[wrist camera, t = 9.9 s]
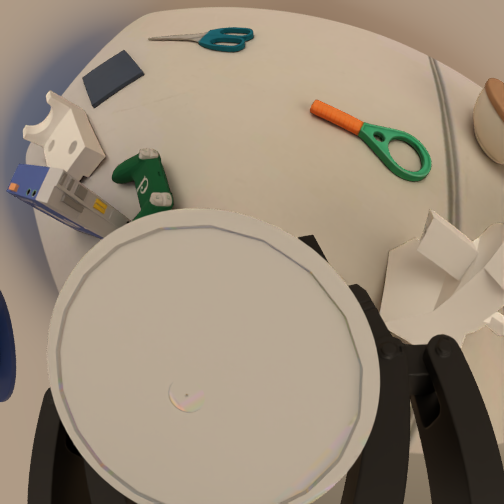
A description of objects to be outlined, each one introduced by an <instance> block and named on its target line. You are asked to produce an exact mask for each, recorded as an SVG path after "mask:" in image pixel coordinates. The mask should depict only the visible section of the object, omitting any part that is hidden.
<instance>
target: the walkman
mask: <svg viewBox="0 0 504 504" xmlns="http://www.w3.org/2000/svg"><path fill="white" fill-rule="evenodd" d="M7 192H8V193H10V194H12V195H14V196H15V197H17V198H19V199H20V200H22V201H24V202H25V203H27V204H29V205H31V206H32V207H34V208H36V209H38V210H40V211H41V212H43V213H45V214H47V215H49V216H51V217H52V218H54V219H56V220H58V221H60V222H62V223H64V224H66V225H68V226H69V227H71V228H73V229H75V230H78V231H81V232H84V233H86V234H89V235H92V236H95V237H98V238H101V239H103V238H105V237H106V236H107V235H109V234H110V233H112V232H113V231H115V230H117V229H118V228H120V227H122V226H124V225H126V224H128V223H130V222H132V221H131V220H130V219H128V218H127V217H126V216H124V215H123V214H121V213H120V212H119V211H117V210H116V209H115V208H113V207H112V206H111V205H109V204H108V203H107V202H106V201H104V200H103V199H102V198H100V197H99V196H98V195H96V194H95V193H94V192H93V191H91V190H89V189H88V188H86V187H85V186H84V185H83V184H81V183H80V182H79V181H78V180H76V179H75V178H74V177H72V176H71V175H70V174H69V173H67V172H66V171H65V170H64V169H60V168H52V167H43V166H35V165H27V164H19V165H18V167H17V169H16V171H15V173H14V175H13V177H12V180H11V182H10V184H9V186H8V189H7Z"/></svg>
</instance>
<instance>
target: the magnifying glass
mask: <svg viewBox="0 0 504 504" xmlns="http://www.w3.org/2000/svg"><path fill="white" fill-rule="evenodd" d="M310 112H311V113H313V114H315V115H317V116H319V117H322V118H324V119H326V120H328V121H330V122H332V123H334V124H336V125H338V126H340V127H342V128H344V129H346V130H348V131H350V132H352V133H354V134H355V135H358V136H359V137H360V138H361V139H363V140H364V142H365V143H366V144H367V145H368V146H369V147H370V148H371V149H372V150H373V151H374V152H375V154H376V155H377V156H378V157H379V158H380V159H381V160H382V161H383V163H384V164H385V165H386V166H387V167H388V168H389V169H390V170H391V171H392V172H393V173H394V174H396V175H397V176H399V177H401V178H403V179H405V180H408V181H420V180H422V179H423V178H425V177H426V176H427V175H428V173H429V172H430V170H431V165H432V164H431V158H430V155H429V153H428V151H427V150H426V148H425V147H424V146H423V144H422V143H421V142H420V141H419V140H417V139H416V138H415V137H414V136H412V135H410V134H408V133H406V132H404V131H400V130H396V129H391V128H387V127H382V126H377V125H372V124H368V123H366V122H362V121H360V120H358V119H356V118H355V117H353V116H351V115H349V114H347V113H345V112H343V111H341V110H338V109H336V108H334V107H332V106H330V105H328V104H325V103H323V102H321V101H319V100H315V101H314V103H313V104H312V106H311V108H310ZM373 135H377V136H379V137H380V138H381V139H382V140H383V142H379V141H377V140H376V139H375V138H374V136H373ZM395 139H398V140H403V141H405V142H407V143H409V144H410V145H411V146H413V147H414V148H415V150H416V151H417V152H418V154H419V156H420V158H421V163H422V165H421V169H420V170H419V171H417V172H411V171H407V170H405V169H403V168H402V167H400V166H399V165H398V164H397V163H396V162H395V161H394V160H393V158H392V157H391V155H390V153H389V149H388V144H389V142H390V141H391V140H395Z"/></svg>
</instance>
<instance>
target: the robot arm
mask: <svg viewBox="0 0 504 504" xmlns="http://www.w3.org/2000/svg"><path fill="white" fill-rule="evenodd" d="M298 239H299V240H301V241H302V242H304V243H305V244H306V245H308V246H309V247H311V248H312V249H313V250H315V252H317V253H318V254H319V255H320V256H321V257H322V258H323V259H325V260H326V261H327V259H326V257H325V256H324V254H323V252H322V250H321V248H320V246H319V245H318V243H317V241H316V239H315V237H314V236H313V235H309V236H303V237H298ZM327 262H328V261H327ZM348 287H349V288H350V290H351V291H352V293H353V294H354V296H355V297H356V299H357V301H358V302H359V304H360V306H361V308H362V310H363V312H364V314H365V316H366V319H367V321H368V323H369V326H370V329H371V331H372V334H373V338H374V341H375V345H376V349H377V354H378V361H379V370H380V393H379V402H378V408H377V413H376V417H375V421H374V424H373V427H372V430H371V432H370V435H369V437H368V440H367V442H366V444H365V446H364V448H363V450H362V451H361V453H360V455H359V456H358V458H357V460H356V461H355V463H354V464H353V465H352V467H351V468H350V469H349V470H348V472H347V477H346V482H345V486H344V491H343V496H342V500H341V504H403V502H404V495H405V488H406V481H407V472H408V461H409V445H410V401H411V404H412V408H413V411H414V415H415V419H416V423H417V427H418V431H419V435H420V439H421V443H422V448H423V453H424V458H425V462H426V468H427V473H428V479H429V486H430V492H431V500H432V504H504V470H503V465H502V461H501V456H500V453H499V449H498V445H497V441H496V437H495V434H494V431H493V427H492V424H491V421H490V418H489V415H488V412H487V410H486V407H485V404H484V401H483V399H482V396H481V394H480V391H479V389H478V386H477V384H476V381H475V379H474V377H473V374H472V372H471V370H470V368H469V365H468V363H467V361H466V359H465V357H464V355H463V353H462V351H461V349H460V347H459V345H458V343H457V342H456V340H455V339H454V338H452V337H451V336H449V335H445V334H439V335H436V336H434V337H432V338H431V339H430V341H429V342H428V344H421V345H408V344H404V343H403V342H402V341H401V340H399V339H397V338H395V337H393V336H392V335H391V334H390V332H389V330H388V328H387V326H386V325H385V323H384V321H383V319H382V317H381V316H380V314H379V312H378V310H377V309H376V308H375V305H374V303H373V302H372V301H371V298H370V297H369V295H368V293H367V292H366V290H364V289H363V288H362V287H360V286H359V285H358V284H354V285H350V286H348ZM28 504H138V503H136V502H134V501H133V500H131V499H129V498H128V497H126V496H125V495H123V494H122V493H120V492H119V491H118V490H116V489H115V488H114V487H112V486H111V485H110V484H109V483H108V482H107V481H105V480H104V479H103V478H102V477H101V476H100V475H99V474H98V473H97V472H96V471H95V470H94V469H93V468H92V467H91V466H90V464H89V463H88V462H87V461H86V460H85V458H84V457H83V456H82V455H81V453H80V452H79V451H78V449H77V448H76V446H75V445H74V443H73V442H72V440H71V438H70V437H69V435H68V433H67V431H66V429H65V427H64V425H63V423H62V421H61V419H60V416H59V414H58V411H57V409H56V406H55V403H54V399H53V396H52V392H51V387H50V388H49V389H48V390H47V391H46V393H45V395H44V398H43V402H42V406H41V410H40V414H39V418H38V423H37V428H36V433H35V438H34V444H33V450H32V457H31V464H30V472H29V484H28Z"/></svg>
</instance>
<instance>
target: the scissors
mask: <svg viewBox="0 0 504 504" xmlns="http://www.w3.org/2000/svg"><path fill="white" fill-rule="evenodd" d="M224 33H245V34H247V35H243V36H238V35H226V34H224ZM253 37H254V35H253V30H252V29H248V28H236V27H232V28H220V29H214V30H210V31H209V32H206V33H200V34H186V35H173V36H162V37H153V38H148V40H192V41H196V42H198V43H199V45H201V46H203V47H205V48H209V49H212V50H218V51H227V52H236V51H239V50H242V49H243V48H245V41H248V40H250V39H252V38H253ZM216 42H234V43H240V44H238V45H234V46H227V45H216V44H213V43H216Z"/></svg>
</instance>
